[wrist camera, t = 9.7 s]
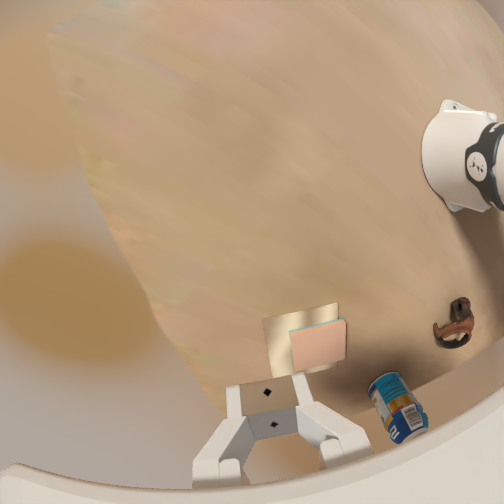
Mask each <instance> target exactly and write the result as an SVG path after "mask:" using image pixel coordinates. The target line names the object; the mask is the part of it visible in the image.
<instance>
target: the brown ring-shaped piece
mask: <svg viewBox="0 0 504 504" xmlns="http://www.w3.org/2000/svg"><path fill="white" fill-rule="evenodd" d="M452 306H453V308H454V312H455V317H456V319H457V320H458V321H459V322H460V323H458V324H457V323H456V322H454V323H452V324H450V325H448V326H447V327H445V328H443V329H441V330H440V329H439V328H438V325H437V323H435V324H434V326H433V327H434V331H435V336H436V337H437V339H438V340H439V341H440V345H441V346H442V347H444V348H447V349H453V348H458V347H461V346H463V345H465V344H466V343H467V342H468V341H469V340H470V338H471V336H472V335H471V332H472V329H473V326H474V316H473V314H472V312H471V310H470V301H469V299H467V298H466V297H461V298H459V299H458V300H455V301H454V302H452ZM458 332H464V333H466V334H465V335H464V336H463V338H462V339H461V340H460V341H458V340H456V339H454V340H452V341H444V340H443V338H446V337H448V336H449V335H451V334H454V333H458ZM442 335H443V336H442ZM442 337H443V338H442Z"/></svg>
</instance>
